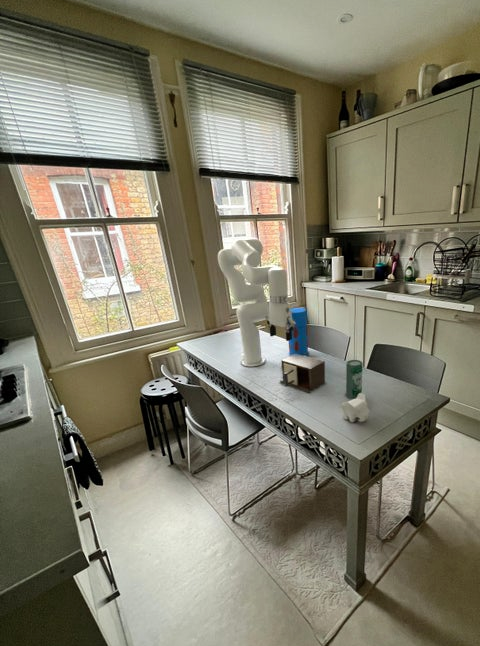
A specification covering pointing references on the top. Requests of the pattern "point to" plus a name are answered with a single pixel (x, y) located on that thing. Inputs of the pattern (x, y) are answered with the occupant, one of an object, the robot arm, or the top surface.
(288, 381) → the door
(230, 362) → the top surface
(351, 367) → the can
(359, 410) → the elephant figurine
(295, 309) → the blue tall cylinder
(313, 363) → the cabinet
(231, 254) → the robot arm
